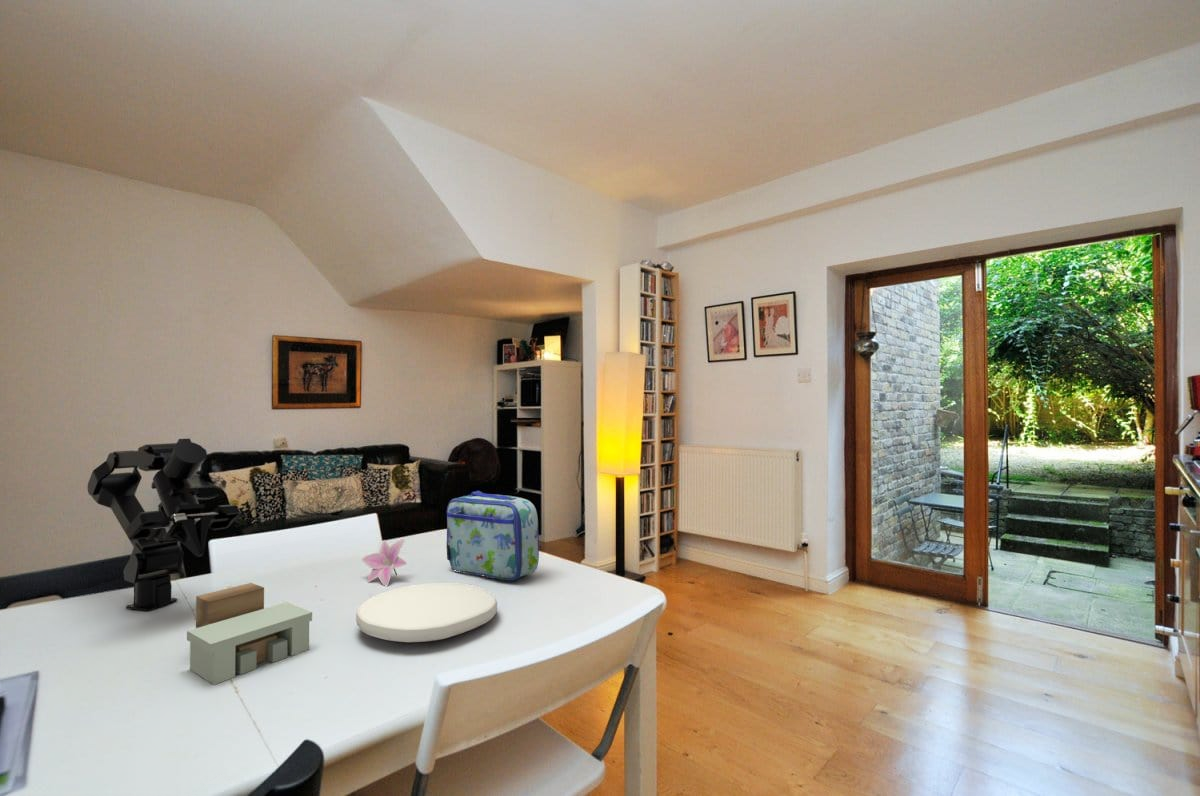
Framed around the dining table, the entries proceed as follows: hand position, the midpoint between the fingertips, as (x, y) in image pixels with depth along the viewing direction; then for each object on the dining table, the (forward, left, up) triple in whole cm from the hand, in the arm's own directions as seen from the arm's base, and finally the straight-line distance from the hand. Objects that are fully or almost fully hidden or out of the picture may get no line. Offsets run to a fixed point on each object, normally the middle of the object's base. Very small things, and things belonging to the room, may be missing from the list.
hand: (200, 555), depth 110 cm
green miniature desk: (+23, -10, -14) cm, 29 cm away
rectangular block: (+19, -9, -14) cm, 25 cm away
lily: (+19, +33, -14) cm, 41 cm away
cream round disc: (+45, +11, -14) cm, 48 cm away
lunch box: (+43, +44, -14) cm, 63 cm away
